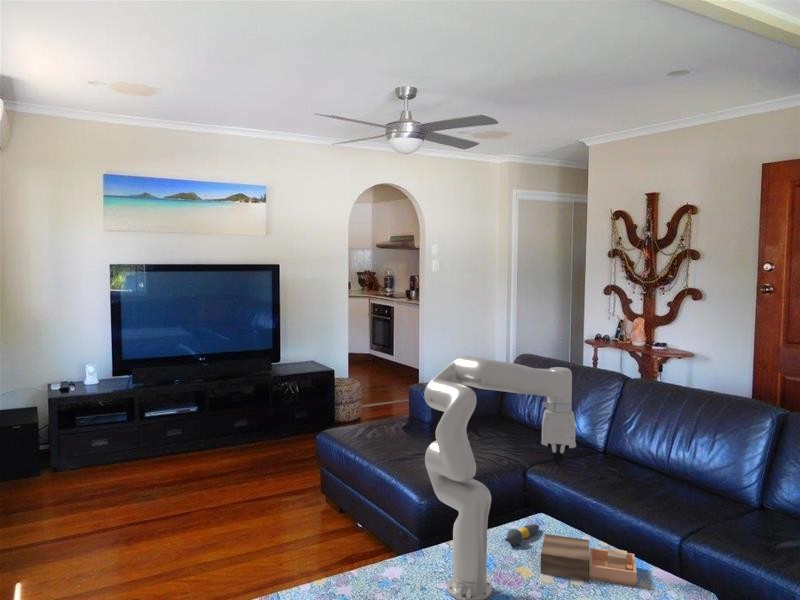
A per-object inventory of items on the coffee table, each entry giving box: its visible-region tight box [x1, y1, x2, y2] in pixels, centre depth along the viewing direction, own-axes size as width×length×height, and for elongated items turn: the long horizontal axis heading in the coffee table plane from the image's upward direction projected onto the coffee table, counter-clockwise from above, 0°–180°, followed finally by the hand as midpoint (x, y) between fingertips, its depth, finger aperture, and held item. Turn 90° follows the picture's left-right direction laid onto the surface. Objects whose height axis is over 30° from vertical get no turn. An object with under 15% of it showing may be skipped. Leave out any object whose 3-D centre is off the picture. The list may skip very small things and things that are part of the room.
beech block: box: [607, 547, 628, 570], centre depth 180 cm, size 5×5×5 cm
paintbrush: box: [504, 523, 540, 546], centre depth 202 cm, size 20×5×5 cm, turn 142°
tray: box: [588, 547, 638, 587], centre depth 180 cm, size 12×13×4 cm
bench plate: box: [540, 533, 590, 581], centre depth 184 cm, size 14×14×6 cm
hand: (558, 464), depth 190 cm, fingers closed
